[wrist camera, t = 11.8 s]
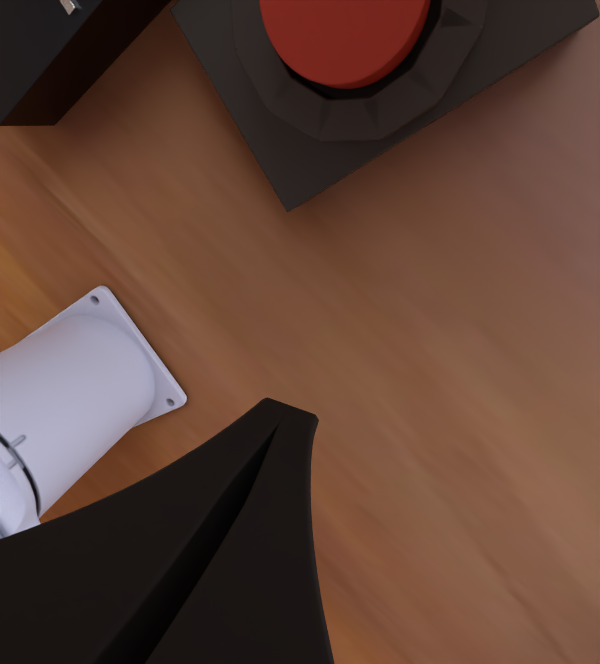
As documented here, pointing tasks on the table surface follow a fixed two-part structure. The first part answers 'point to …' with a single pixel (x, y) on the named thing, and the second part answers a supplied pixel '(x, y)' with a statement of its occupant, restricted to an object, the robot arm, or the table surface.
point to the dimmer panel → (61, 52)
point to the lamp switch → (344, 37)
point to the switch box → (369, 101)
